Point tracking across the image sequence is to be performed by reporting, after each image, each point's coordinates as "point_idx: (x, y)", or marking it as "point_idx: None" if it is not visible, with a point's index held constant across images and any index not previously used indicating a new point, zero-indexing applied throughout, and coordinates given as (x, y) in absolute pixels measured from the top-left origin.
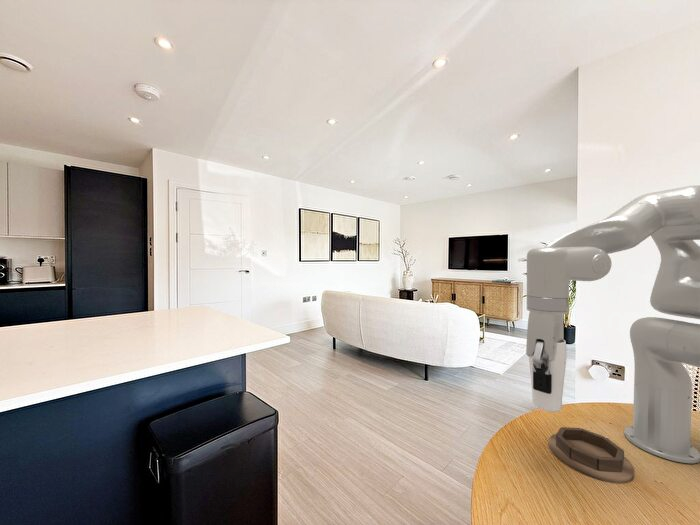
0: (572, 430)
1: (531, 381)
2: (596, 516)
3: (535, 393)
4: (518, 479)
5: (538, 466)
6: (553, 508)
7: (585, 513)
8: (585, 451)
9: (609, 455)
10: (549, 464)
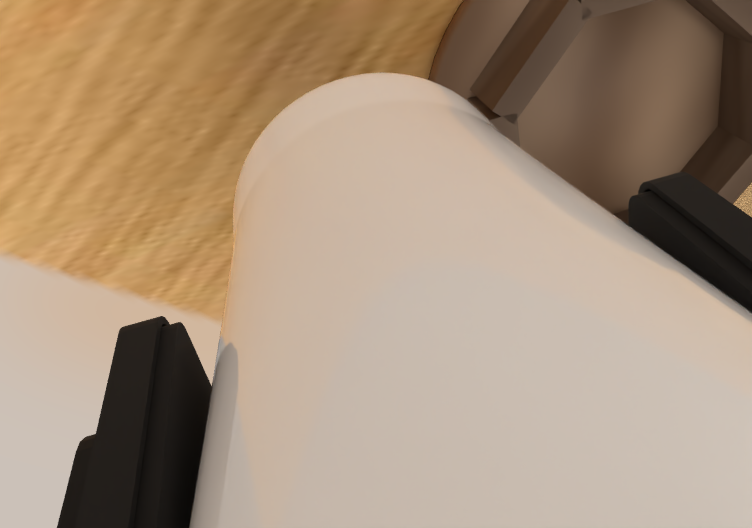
0: (727, 15)
1: (286, 224)
2: (192, 301)
3: (237, 235)
4: (31, 23)
5: (265, 14)
6: (42, 216)
7: (163, 279)
8: (614, 98)
9: (672, 168)
10: (346, 36)
